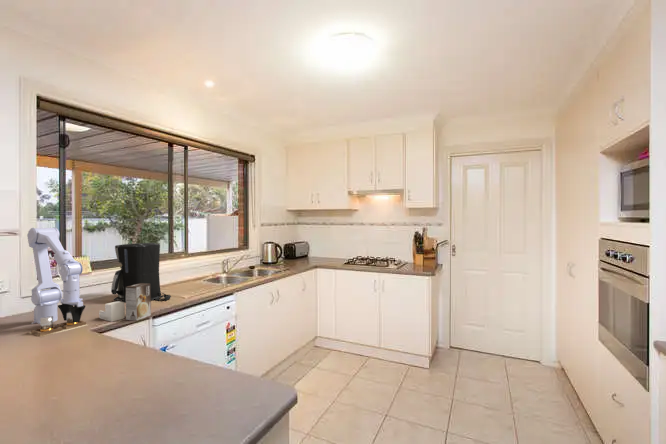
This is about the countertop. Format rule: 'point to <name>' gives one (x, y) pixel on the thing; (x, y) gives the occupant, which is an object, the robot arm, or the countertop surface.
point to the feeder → (113, 311)
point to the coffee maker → (138, 269)
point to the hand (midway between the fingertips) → (71, 321)
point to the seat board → (58, 329)
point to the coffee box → (138, 301)
